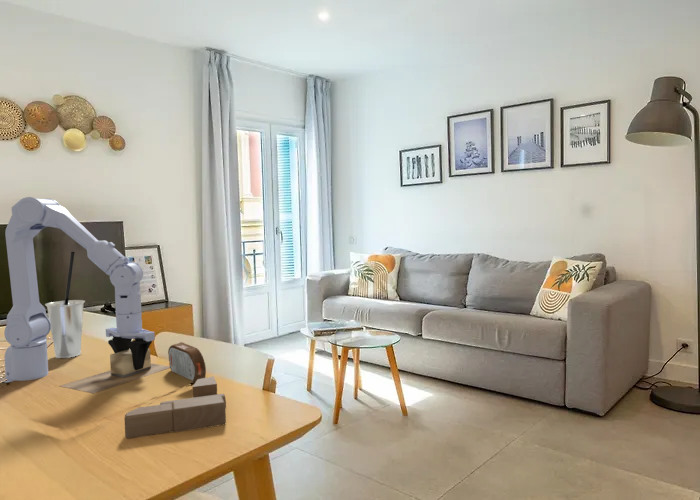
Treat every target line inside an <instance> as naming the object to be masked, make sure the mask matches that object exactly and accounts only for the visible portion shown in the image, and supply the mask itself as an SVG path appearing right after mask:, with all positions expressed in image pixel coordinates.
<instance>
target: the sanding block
mask: <svg viewBox="0 0 700 500" xmlns="http://www.w3.org/2000/svg"><path fill="white" fill-rule="evenodd" d="M109 358H110V359H109V360H110V361H109V362H110V370H111V375H112V376H118V377H127V376H130V375H133V374H136V373H139V372H142V371H145V370H148V369H151V363H152V361H151V348H148V351H147V353H146V357H145V361H144V366H143V368H142V369H139V370H135V369H134V366H133V358H132V353H131V350H130V349H129V350H125V351H121V352H118V353H114V352H113V353H110V354H109Z"/></svg>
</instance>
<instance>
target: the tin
mask: <svg viewBox="0 0 700 500" xmlns="http://www.w3.org/2000/svg"><path fill="white" fill-rule="evenodd" d="M167 354H168V361H169V365H168V366H170V368H169V369H170V371H171V373H175V374H177V375H179V376H180V377H183V378H186V379H188V380H190V381H192V382H190V383H189V385H190V384H191V385H192V386H193V385H194V384H195V382H196V381H197V379H202V378H206V376H207V374H206V373H207V369H206V362H205V359H204V356H203V354H202V352H201V351H200V350H199V349H198V348H197V347H196V346H193V345H190V344H188V343H185V342H183V341H181V342H179V343H175V344H172V345H170V346H169V347H168V351H167Z"/></svg>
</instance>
